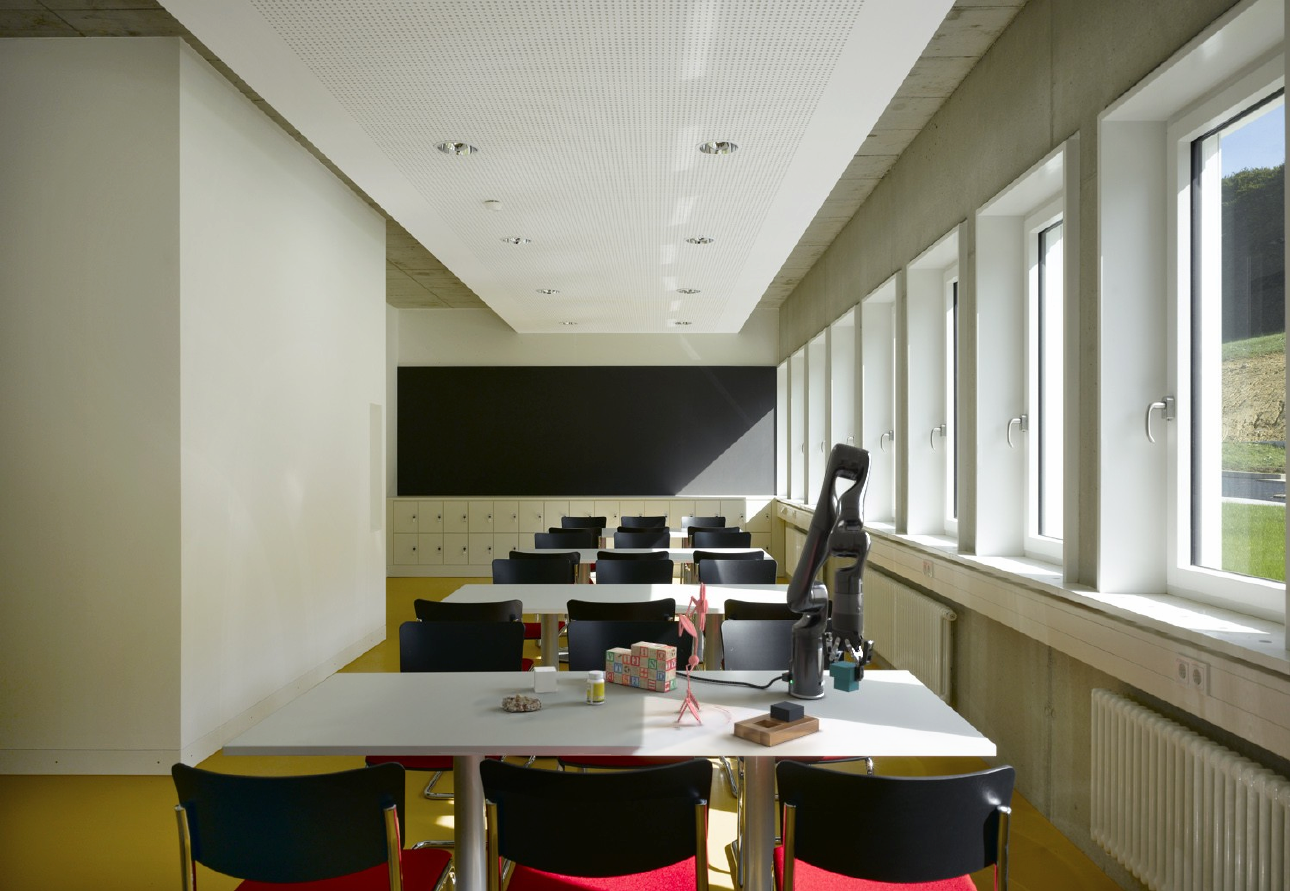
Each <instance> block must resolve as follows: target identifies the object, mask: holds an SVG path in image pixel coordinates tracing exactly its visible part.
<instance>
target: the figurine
mask: <svg viewBox="0 0 1290 891" xmlns="http://www.w3.org/2000/svg"><path fill="white" fill-rule="evenodd" d="M706 594H707V586H706V584H704V583H703V582H701V583H700V587H699V598H698V599H696V597H694V596H693V595H691V596H690V600H689V604H688V606H687V611H686V614H685V615H684V614H682V613H678V614H677V615H678V638H681V637H682V634H683V633H684V632H683V631H684V630H685V632H687V633H688V634H689V635H690V636H692V637H693V638H694V639H695V644H694V646H695V648H694V654H692V655H690V656H689V658H688V664H686V665H685V671H686V674H687V677H686V678H687V689H686V691H685V692H686V694H687V695H686V696H685V698H684V699H683V702H682V704H681V706H680V708H679V710H678V713H680V714H679V717H678V718H677V720H676V722H677V723H680V722H681V719H682V718H683V715H684V713H685V711H686V710H687V708H688V709H689V711H690V713H691V714H692V716H693V717H694V719H695V720H696V721H697V722H698V723H699V725H701V724H702V721H701V718H700V715H699V714H698V712H697V710H698V711H699V710H700V705H699V703H698V700H697V699H696V697H695V696H694V695H693V693H692V692H693V691H691V684H690V683H691V682H690V678H689V675H691V672H692V671H693V669H694V667H695V666H698V664H699V662H700V658H699V657H698V655H697V653H698V652H697V651H698V642H699V637H698V634H697V629H696V628H695V626H694V624H693V622H692V621H691V618H692V617H693V615H694V614H695V612H696V614H697V615H698V617H697V618H698V619H697V620H698V624H697V625H698V630H701V631H702V632H703V631H704V630H705V618H706V616H705V615H706V614H707V613H708V611H709V600H708V599H706ZM692 603H693V604H694V605H695V607H694V608H693V610H692V611H691V613H690V610H691V606H692V605H693V604H692ZM689 613H690V614H689ZM689 666H691V668H690V670H689V669H688V667H689ZM715 708H716V709H719V710H722V711H724V712H726V713H728V714H729V715H730V716H731V717H732V714H731V713H730V712H729V710H727V709H723V708H721V707H718V706H715ZM731 721H732V719H729V721H727V724H728V723H730V722H731ZM674 728H676V729H680V727H679V726H674Z"/></svg>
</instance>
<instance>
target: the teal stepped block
mask: <svg viewBox="0 0 1290 891" xmlns="http://www.w3.org/2000/svg"><path fill="white" fill-rule="evenodd" d="M854 667H855V663H854V662H851V661H846V660H841V661H839V662H837V663H833V664H830V663H829V671H828V672H829V673H828V675H829V676H828V677H830V678H833V689H834V690H837V691H841V692H845V693H852V692H854V691H858V690H860V681H859V682H856V681H854V676H855V668H854ZM864 677H865V668H864V669H863V679H864Z"/></svg>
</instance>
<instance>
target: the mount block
mask: <svg viewBox="0 0 1290 891" xmlns="http://www.w3.org/2000/svg"><path fill="white" fill-rule="evenodd" d="M819 731H820V718H818V717H814V716H810V715H807V714H804V718H803V719H799V720H796V721H793V722H786V721H782V720H779V719H775V718H772V717H770V712H768V713H765V714H760V715H758V716H753V717H751V718H746V719H742V720H740V721H736V722H735V721H734V722H733V735H734V736H736V737H739V738H742V739H744V740H748V741H751V742H754V743H757V744H760V745H764V746H766V747H772V746H776V745H779V744H782V743H785V742H788V741H791V740H794V739H798V738H801V737H803V736H806V735H809V734H813V733H816V732H819Z"/></svg>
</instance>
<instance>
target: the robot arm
mask: <svg viewBox="0 0 1290 891" xmlns="http://www.w3.org/2000/svg"><path fill="white" fill-rule="evenodd" d="M871 469H872V454H871V453H870V451H869V450H867V449H865V448H861V447H857V446H853V445H849V444H846V443H842V442H841V443H840V442H838V443H835V444H834V445H833V447H832V449H831V451H830V454H829V457H828V461H827V465H826V470H825V473H824V477H823V481H822V485H821V486H822V487H821V489H820V494H819V498H818V501H817V503H816V506H815V509H814V511H813V515H812V518H811V521H810V525H809V528H808V531H807V535H806V539H805V541H804V545H803V548H802V551H801V554H800V557H799V559H798V563H797V565H796V567H795V570H794V572H793V574H792V577H791V580H790V582H789V584H788V587H787V591H786V604H787V607H788V608H789V610H790V611H791V612H793V613H796V614H803V615H802V617H801V618H800V619H799V620H798V621H796V622H795V623H794V624H792V626H791V659H789V661H788V671H787V672H782V673H781V675H780V676H777V677H775V678H772V679H771V680H770V681H769V682H768V684H766V685H757V684H755V683H754V684H753V683H751V682H744V681H736V680H735V681H734V680H733V681H732V680H721V679H712V678H706V677H702V676H701V677H700V676H695V675H691V674H689V679H692V680H696V681H702V682H708V683H715V684H724V685H725V684H726V685H736V686H737V685H738V686H746V687H750V688H755V689H761V690H765V689H768V688H770V687H771V686H772V685H773V683H775V682H777V681H779V680H781V682H785V683H787V693H788V695H791V696H792V697H795V698H799V699H803V700H817V699H818V700H819V699H822V698H823V697H825V695H824V694H825V693H824V685H825V683H826V679H824V677H825V675H824V672H825V658H827V659H829V662H830V663H829V665H830V664H833V663H837V662H840V660H839V659H840V657H841V655H842V653H844V652H846V653H847V654H849V655H850V657H851V659H852V660H853V663H855V667H854V668H855V676H854V681H856V682H859V683H860V682H861V681H862V680H863V679H864V678H863V669H864V670H865V666H867V665H871V664H872V659H873V653H874V646H875V641H874V640H872V639H870V640H869V639H866V638H864V636H863V631H864V595H863V593H864V574H865V567H866V563H867V561H868V557H869V554H870V552H871V547H872V538H871V536H870V534H869V533H868V532H867V531H865V530H863V527H864V525H865V524H864V522H865V502H866V496H867V491H868V487H869V480H870V474H871ZM838 478H840V479H844V480H848V481H853V482H854V484H853V485H851V486H850V487H849V488H848V489H846V490H845V491H844V492H843V493H842V494H841V495H840V496H839V497H838V493H837V487H836V486H837V479H838ZM831 557H833V558H837V559H854V560H855V561H854V563H853V564H851V565H849V566H843V567H838V568H836V569H835V570H834V573H833V595H832V606H831V608H832V609H831V628H832V632H830V631H827V632H825V631H826V629H827V627H828V626H827V625H828V613H829V592H828V589H827V586H826V585H825V583H824V582H823V581H821V580H819V579H816V578H817V576H818V573H819V572H820V570H821V569H822V567H823V566H824V565H825V564H826V563H827V562H828V561H829V560H830V558H831ZM833 642H834V644H833ZM676 675H677V676H681V677H684V678H687V673H683V672H679V671H676Z"/></svg>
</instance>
